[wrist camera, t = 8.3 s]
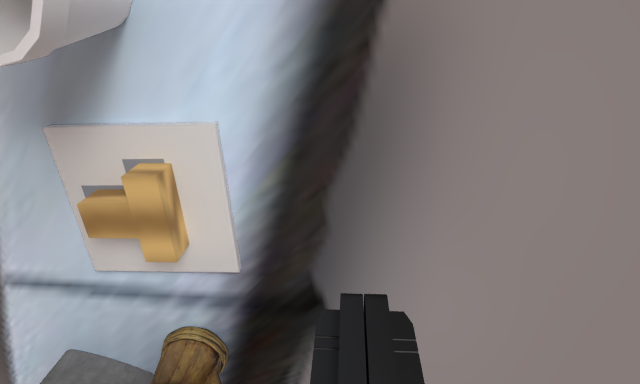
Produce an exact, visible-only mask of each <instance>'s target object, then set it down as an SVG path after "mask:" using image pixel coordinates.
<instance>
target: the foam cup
mask: <svg viewBox="0 0 640 384" xmlns="http://www.w3.org/2000/svg"><path fill="white" fill-rule="evenodd" d="M131 4H132V0H0V67H1V66H7V65H13V64H18V63H23V62H27V61H31V60H34V59H38V58H41V57H45V56H48V55H49V54H50V53H51V52H52V50H55V49H58V48H61V47H63V46H66V45H69V44H72V43H74V42H77V41H80V40H82V39H85V38H88V37H91V36H93V35H96V34H99V33H102V32H104V31H107V30H110V29H112V28H115V27H117V26H120V25H121V24H122V22H123V21H124V20H125V19H126V18H127V17H128V16H129V13H130V8H131Z"/></svg>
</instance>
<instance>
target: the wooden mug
mask: <svg viewBox="0 0 640 384" xmlns="http://www.w3.org/2000/svg"><path fill="white" fill-rule="evenodd" d="M228 358H229V355H228V350H227V348H226V346H225V344H224V343H223V341H222V340H221V339H220V338H219V337H218V336H217V335H215V334H214V333H212V332H210V331H209V330H207V329H203V328H197V327H183V328H180V329H177V330H175V331H173V332H171V333H170V334H168V336H167V337H166V339H165V341H164V344H163V348H162V353H161V358H160V361H159V364H158V366H157V369H156V372H155V374H154V377H153V380H152V382H151V384H221V381H220V378H219V375H220V374H221V372H222V371H223V369H224V367H225V365H226V364H227V361H228Z"/></svg>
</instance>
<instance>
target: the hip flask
mask: <svg viewBox="0 0 640 384" xmlns="http://www.w3.org/2000/svg"><path fill="white" fill-rule="evenodd" d="M153 377H154V374H151V373H149V372H147V371H144V370H142V369H139V368H137V367H134V366H131V365H129V364H126V363H123V362H120V361H117V360H114V359H111V358H107V357H104V356H100V355H96V354H92V353H88V352H84V351H79V350H68V351H66V353H65V354H64V355H63V356H62V357H61V359H60V360H59V361H58V362H57V364H56V365H55V366H54V367H53V368H52V370H51V371H50V372H49V373H48V374H47V376H46V377H45V378H44V379H43V381H42V382H41V383H40V384H151V382H152V380H153Z"/></svg>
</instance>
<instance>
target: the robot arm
mask: <svg viewBox="0 0 640 384" xmlns="http://www.w3.org/2000/svg"><path fill="white" fill-rule="evenodd" d="M340 299H341V300H340V310H328V309H324V311H323V312H322V314H321V315H320V317H319V318H318V320H317V322H316V332H315V341H314V351H313V360H312V371H311V380H310V384H425V383H424V378H423V373H422V368H421V363H420V358H419V354H418V348H417V343H416V338H415V333H414V328H413V324H412V322H411V321H410V320H409V318H408V317H407V315H406V314H405V313H404V312H397V311H395V312H394V311H389V306H388V299H387V295H385V294H364V312H363V295H362V294H346V293H344V294H343V293H341V298H340Z"/></svg>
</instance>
